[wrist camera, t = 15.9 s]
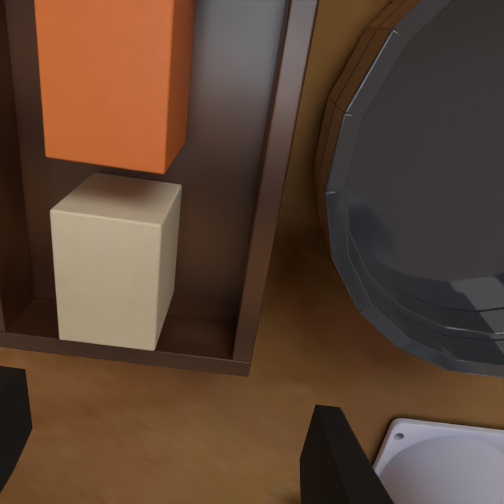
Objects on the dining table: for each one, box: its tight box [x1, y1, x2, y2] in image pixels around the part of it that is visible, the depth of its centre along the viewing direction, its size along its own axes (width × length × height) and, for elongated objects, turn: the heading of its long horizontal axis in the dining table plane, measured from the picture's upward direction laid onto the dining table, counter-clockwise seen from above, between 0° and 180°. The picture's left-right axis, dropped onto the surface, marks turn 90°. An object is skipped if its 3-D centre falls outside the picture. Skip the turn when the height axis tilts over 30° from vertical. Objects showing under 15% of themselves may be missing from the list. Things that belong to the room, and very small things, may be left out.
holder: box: [0, 0, 319, 377], centre depth 15 cm, size 16×11×3 cm
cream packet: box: [50, 172, 182, 351], centre depth 16 cm, size 5×3×4 cm
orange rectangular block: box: [34, 0, 196, 174], centre depth 13 cm, size 5×3×4 cm
